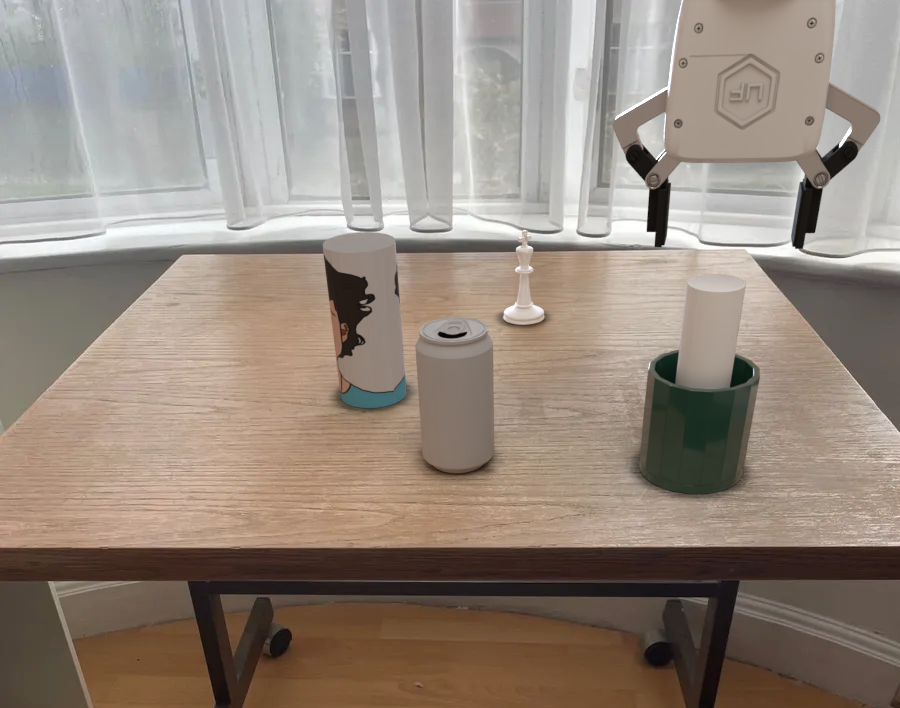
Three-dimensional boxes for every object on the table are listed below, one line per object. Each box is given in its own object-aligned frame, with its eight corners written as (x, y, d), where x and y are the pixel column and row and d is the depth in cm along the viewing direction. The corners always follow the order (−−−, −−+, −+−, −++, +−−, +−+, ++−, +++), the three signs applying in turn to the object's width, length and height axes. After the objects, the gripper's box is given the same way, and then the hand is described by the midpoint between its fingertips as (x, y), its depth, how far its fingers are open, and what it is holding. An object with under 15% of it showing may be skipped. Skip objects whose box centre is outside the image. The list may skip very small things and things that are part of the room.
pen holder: (742, 449, 79) (759, 351, 74) (741, 498, 73) (760, 395, 67) (643, 441, 81) (653, 345, 76) (634, 488, 75) (644, 387, 69)
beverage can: (417, 476, 78) (407, 342, 71) (428, 441, 83) (421, 313, 76) (490, 478, 77) (488, 342, 70) (497, 443, 82) (496, 314, 75)
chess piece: (494, 318, 108) (494, 231, 102) (523, 307, 111) (524, 222, 105) (524, 328, 105) (525, 239, 99) (553, 317, 108) (555, 229, 102)
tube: (696, 477, 74) (722, 296, 65) (655, 459, 77) (675, 283, 68) (728, 460, 76) (757, 282, 67) (687, 443, 79) (711, 270, 70)
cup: (391, 375, 95) (379, 228, 86) (417, 399, 91) (406, 245, 82) (331, 389, 93) (312, 239, 84) (354, 413, 88) (337, 257, 79)
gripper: (614, -32, 55) (602, 256, 65) (923, -51, 51) (858, 260, 61) (626, -38, 60) (614, 228, 71) (905, -56, 56) (849, 229, 67)
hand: (727, 242), depth 66 cm, fingers open, 9 cm apart
